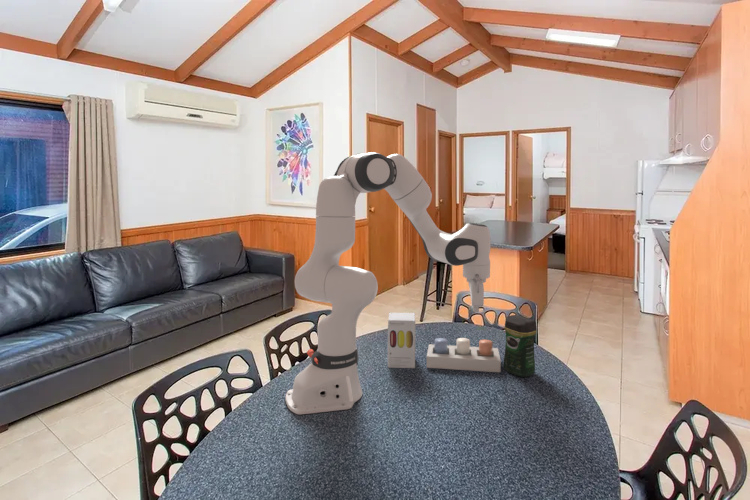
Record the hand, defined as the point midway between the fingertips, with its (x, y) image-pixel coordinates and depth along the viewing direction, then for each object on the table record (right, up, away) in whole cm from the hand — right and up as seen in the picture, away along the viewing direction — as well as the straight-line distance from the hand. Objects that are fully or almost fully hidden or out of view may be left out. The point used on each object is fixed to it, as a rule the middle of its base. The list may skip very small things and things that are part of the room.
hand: (475, 311), depth 148 cm
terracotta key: (+4, -14, +1) cm, 15 cm away
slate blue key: (-11, -14, +4) cm, 19 cm away
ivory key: (-4, -14, +2) cm, 15 cm away
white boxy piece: (-4, -18, +3) cm, 19 cm away
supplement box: (-25, -19, +4) cm, 31 cm away
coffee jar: (+13, -19, -4) cm, 24 cm away
